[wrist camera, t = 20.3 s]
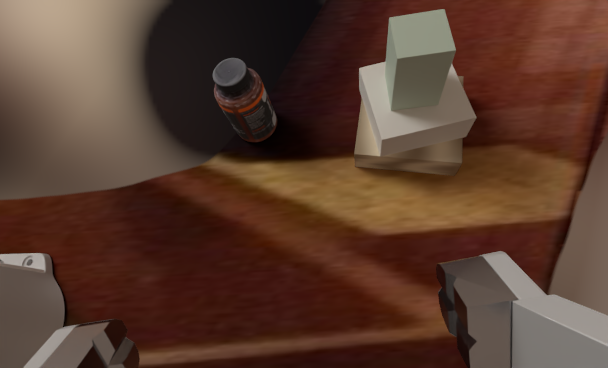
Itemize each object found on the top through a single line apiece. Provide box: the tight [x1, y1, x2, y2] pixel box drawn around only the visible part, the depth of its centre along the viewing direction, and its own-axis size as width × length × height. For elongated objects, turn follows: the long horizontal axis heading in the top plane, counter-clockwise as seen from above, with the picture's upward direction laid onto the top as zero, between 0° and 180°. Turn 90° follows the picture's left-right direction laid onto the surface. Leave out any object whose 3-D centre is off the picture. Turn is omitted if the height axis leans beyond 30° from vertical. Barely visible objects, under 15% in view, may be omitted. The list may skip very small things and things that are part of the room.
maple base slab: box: [354, 76, 463, 176], centre depth 44 cm, size 12×12×4 cm
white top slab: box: [359, 62, 477, 157], centre depth 40 cm, size 10×10×4 cm
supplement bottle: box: [213, 58, 277, 142], centre depth 44 cm, size 6×6×11 cm
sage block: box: [385, 9, 456, 111], centre depth 35 cm, size 5×5×8 cm
